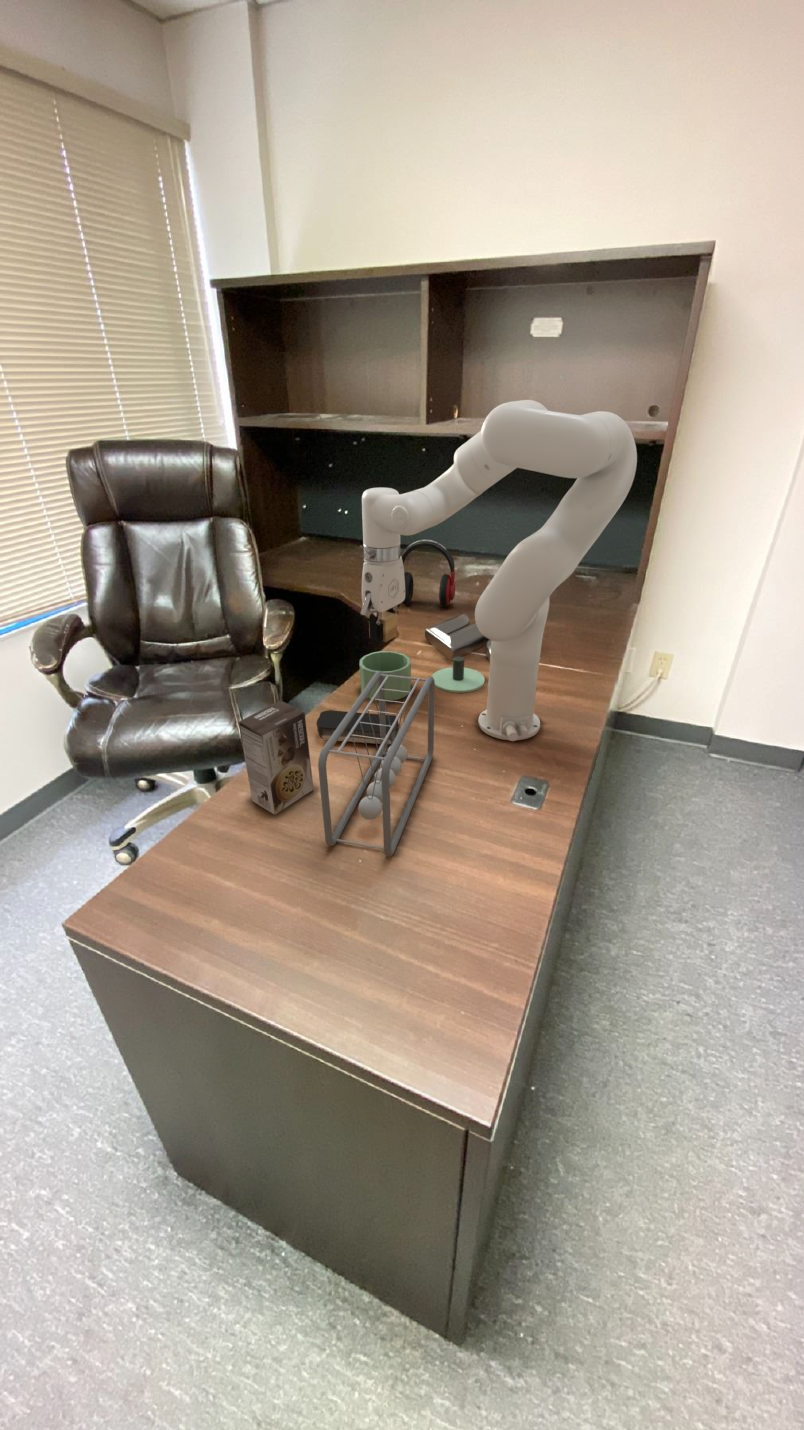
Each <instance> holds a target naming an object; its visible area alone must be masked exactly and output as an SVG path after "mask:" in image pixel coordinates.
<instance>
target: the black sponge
mask: <svg viewBox="0 0 804 1430" xmlns="http://www.w3.org/2000/svg"><path fill="white" fill-rule="evenodd" d="M347 713H348V711H345V710H344V711H342V710H333V709H328V710H327V709H326V710H323V711H321V712H320V714H319V717H318V718H317V720H316V732H317V734H318V736H319V738H320V739H322V740H325V741H328V740H329V739H330V737H331V736H332V734H333V733H334V731H335V730H336V729H337V727H338V726H339V724H340V723H341V721H342V720H343V719H344V717H345V716H346V714H347ZM362 713H363V712H358V711H357V712H356V714H355V715H354V717H353V718H352V720H351V721H350V723H349V724H348V726H347V727H346V729H345V730H344V732H343V733H342V735H341V736H340V737H339V739H338V740H337V742H343V741H344V740H345V738H346V737H347V735H348V734H349V732H350V731H351V729H352V728H353V726H354V725H355V723H356V722H357V720H358V719H359V717H360V716H361V714H362ZM369 714H370V718H371V722H370V718H369ZM369 714H368V712H366V713H365V714H364V716H363V717H362V719H361V720H360V722H364V723H361V725H362V729H363V733H364V736H366V737H365V740H366V744H375V745H376V743H377V745H380V739H376V738H380V725H375V724H380V719H379V715H378V713H371V712H369ZM388 715H389V719H388ZM388 715H387V714H385V717H386V725H388V726H386V735H387V733H388V732H389V730H390V724H391V726H392V724H393V723H394V721H395V719H396V717H397V715H394V714H388ZM389 720H390V724H389ZM368 723H372V726H371V724H368ZM361 725H360V723H358V725H357V726H356V728H355V729H354V731H353V733H352V735H353V738H354V742H355V743H361V744H365V740H364V737H361V736H363V733H362V729H361ZM372 727H373V731H374V735H375V739H376V743H375V739H374V735H373V731H372ZM394 727H395V726H394ZM398 727H399V720H398V721H397V722H396V727H395V732H394V728H393V730H392V732H391V733H390V736H389V741H388V739H387V741H388V745H391V743H392V744H393V742H394V741H393V742H392V737H393V736H392V733H393V732H394V740H395V738H396V736H397V732H398ZM399 728H400V727H399ZM354 735H359V736H354ZM369 737H373V738H369ZM387 741H386V745H387ZM348 742H349V743H353V739H352V736H350V737H349V739H348V740H347V743H348Z"/></svg>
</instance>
